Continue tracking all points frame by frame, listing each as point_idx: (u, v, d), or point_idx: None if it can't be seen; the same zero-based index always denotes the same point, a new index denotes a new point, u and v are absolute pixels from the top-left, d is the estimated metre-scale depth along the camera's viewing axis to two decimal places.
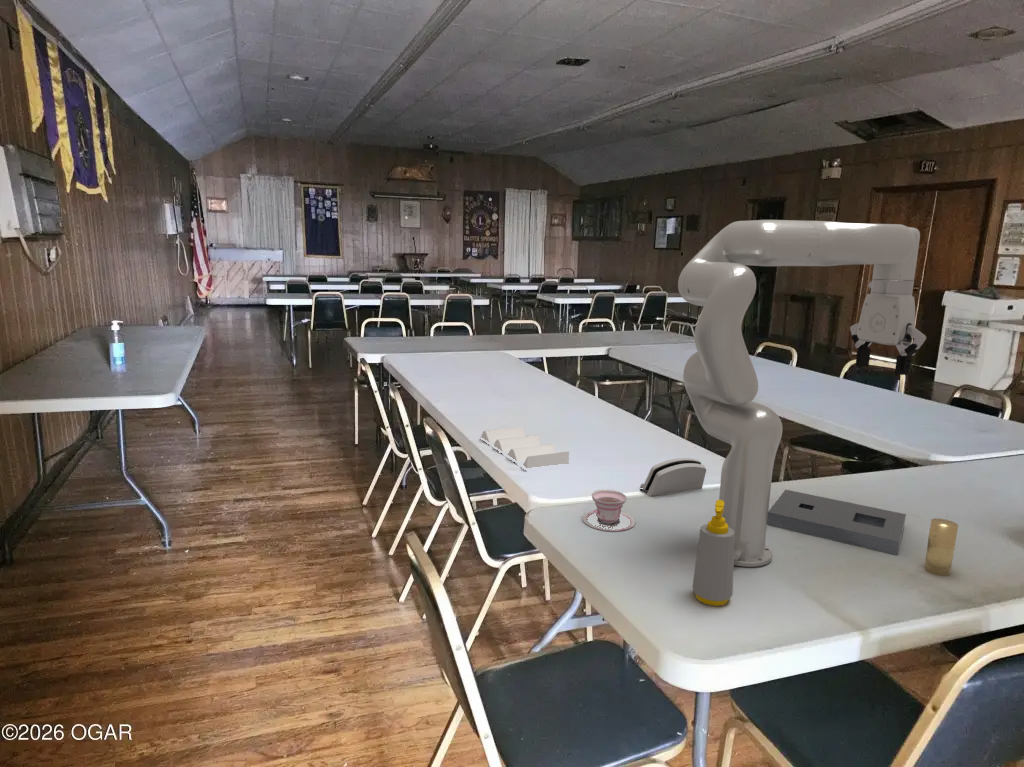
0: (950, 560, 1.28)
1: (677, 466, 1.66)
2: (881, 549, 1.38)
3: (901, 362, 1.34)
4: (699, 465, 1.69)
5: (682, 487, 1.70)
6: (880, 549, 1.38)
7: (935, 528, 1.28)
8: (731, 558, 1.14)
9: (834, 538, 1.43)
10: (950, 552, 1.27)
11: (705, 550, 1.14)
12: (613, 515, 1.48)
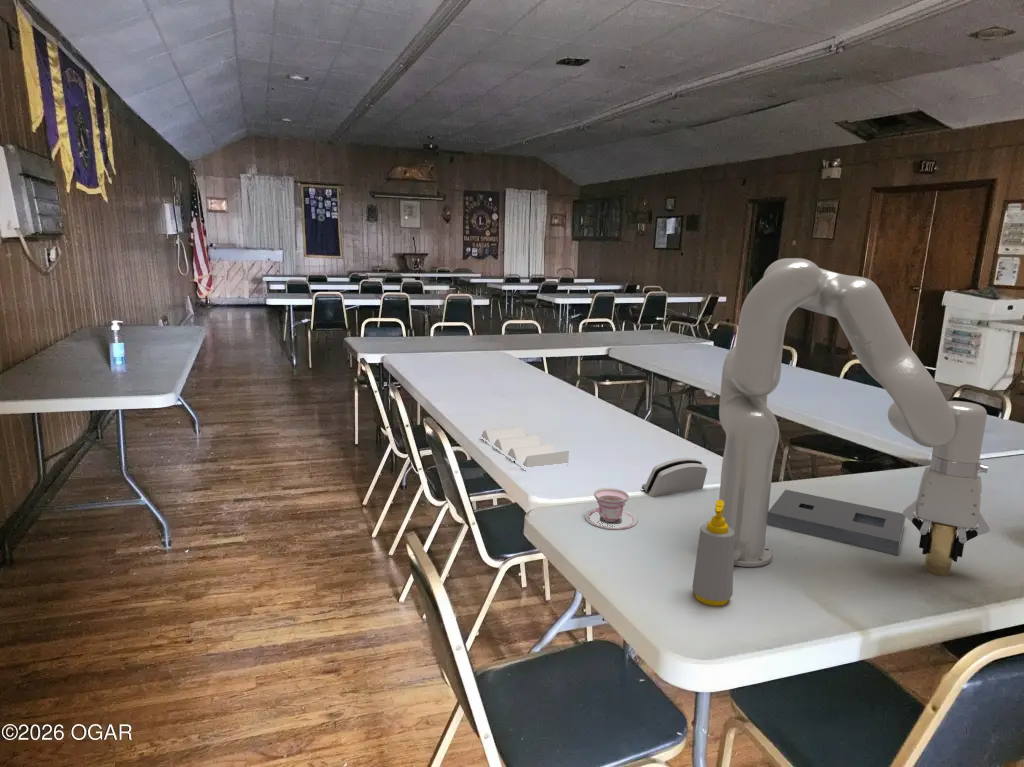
0: (950, 560, 1.28)
1: (679, 466, 1.66)
2: (881, 549, 1.38)
3: None
4: (700, 465, 1.69)
5: (684, 487, 1.70)
6: (880, 549, 1.38)
7: (935, 528, 1.28)
8: (731, 558, 1.14)
9: (834, 538, 1.43)
10: (950, 552, 1.27)
11: (705, 550, 1.14)
12: (615, 513, 1.49)
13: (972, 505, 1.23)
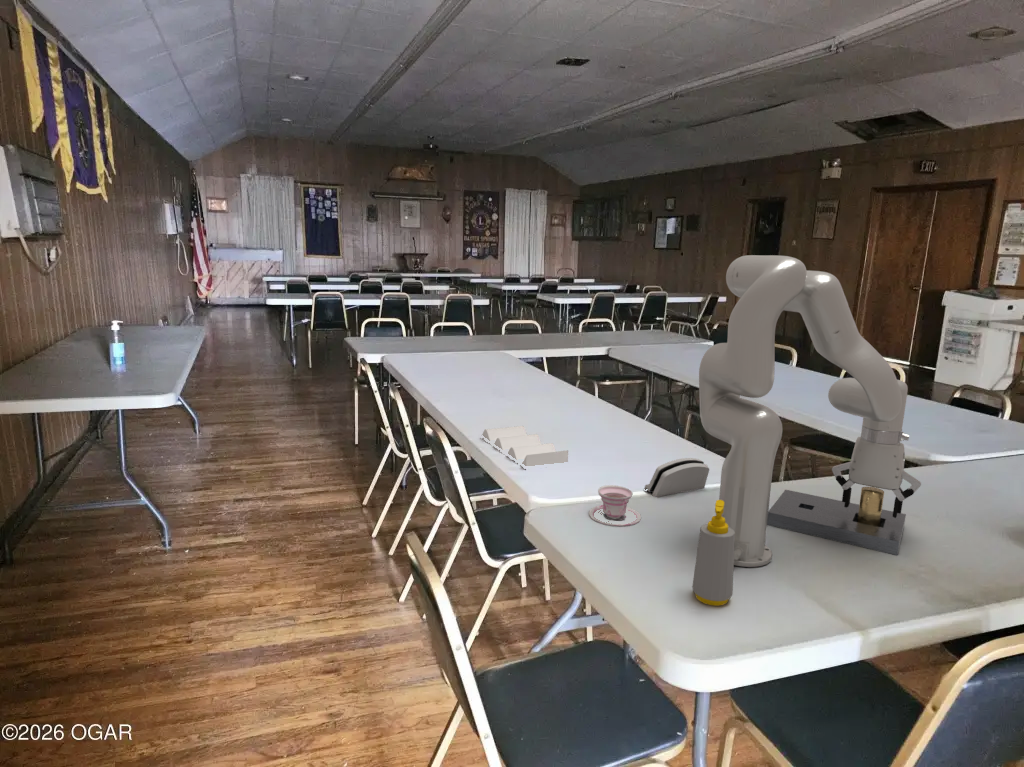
0: (877, 523, 1.45)
1: (682, 466, 1.65)
2: (881, 549, 1.38)
3: None
4: (703, 465, 1.69)
5: (686, 487, 1.70)
6: (880, 549, 1.38)
7: (864, 495, 1.45)
8: (731, 558, 1.14)
9: (834, 538, 1.43)
10: (877, 515, 1.44)
11: (705, 550, 1.14)
12: (619, 510, 1.51)
13: (895, 469, 1.40)
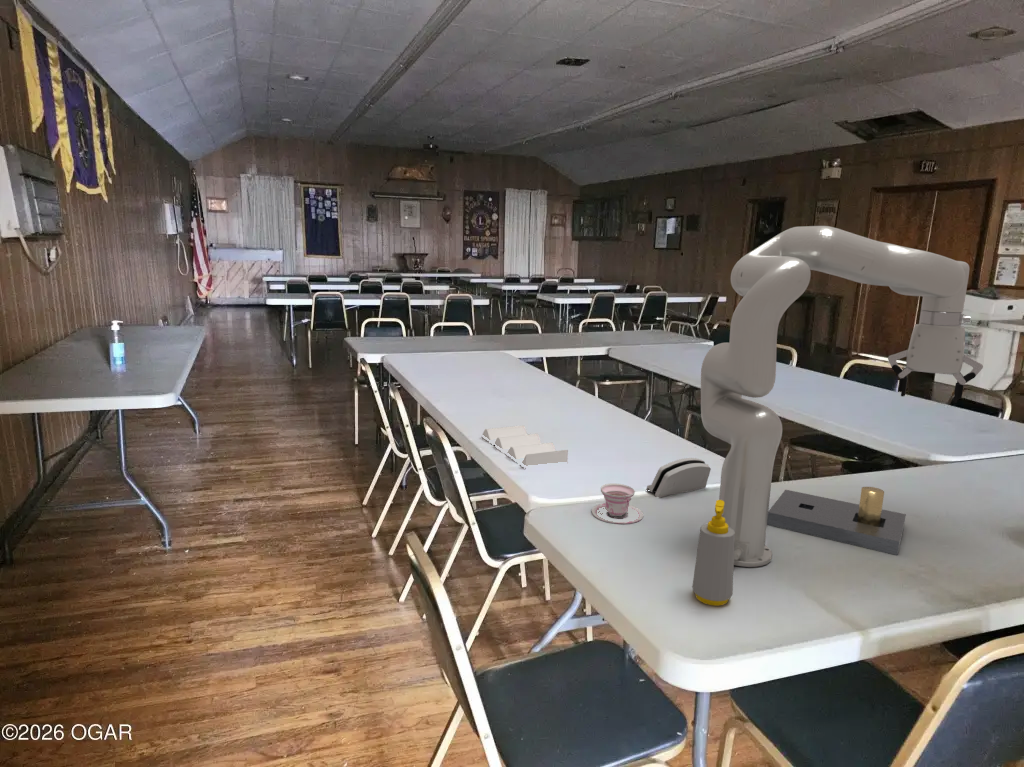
0: (877, 523, 1.45)
1: (684, 466, 1.65)
2: (881, 549, 1.38)
3: None
4: (704, 464, 1.69)
5: (688, 487, 1.70)
6: (880, 549, 1.38)
7: (864, 495, 1.45)
8: (731, 558, 1.14)
9: (834, 538, 1.43)
10: (877, 515, 1.44)
11: (705, 550, 1.14)
12: (621, 508, 1.52)
13: (956, 352, 1.38)
